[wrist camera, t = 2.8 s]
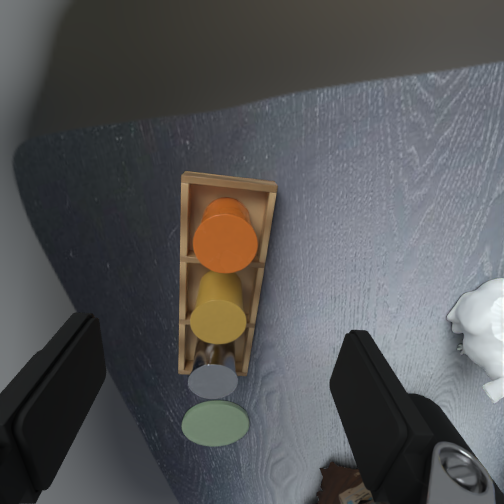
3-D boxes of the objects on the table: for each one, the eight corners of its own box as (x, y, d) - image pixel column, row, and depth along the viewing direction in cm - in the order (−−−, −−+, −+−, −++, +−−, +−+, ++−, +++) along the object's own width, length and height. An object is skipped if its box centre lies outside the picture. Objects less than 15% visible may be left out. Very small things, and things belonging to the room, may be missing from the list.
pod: (199, 241, 25) (191, 271, 20) (201, 191, 23) (194, 211, 18) (249, 245, 26) (253, 275, 21) (255, 197, 24) (261, 217, 19)
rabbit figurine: (467, 354, 35) (546, 432, 26) (412, 352, 34) (474, 432, 25) (516, 272, 30) (635, 336, 21) (453, 268, 29) (549, 332, 20)
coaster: (181, 442, 38) (181, 446, 38) (182, 399, 35) (182, 403, 34) (245, 442, 39) (245, 446, 39) (252, 400, 36) (253, 405, 35)
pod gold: (196, 303, 28) (189, 343, 23) (198, 264, 26) (190, 298, 21) (241, 306, 29) (243, 345, 24) (246, 268, 27) (249, 301, 22)
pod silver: (194, 354, 31) (187, 398, 26) (195, 322, 29) (188, 363, 24) (234, 355, 31) (235, 399, 27) (238, 324, 30) (240, 365, 25)
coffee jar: (348, 415, 38) (434, 630, 22) (417, 378, 36) (569, 589, 20) (383, 446, 42) (477, 647, 26) (447, 414, 40) (594, 615, 24)
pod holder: (245, 363, 33) (246, 376, 31) (181, 360, 32) (178, 374, 30) (274, 181, 24) (277, 185, 22) (184, 171, 23) (181, 174, 21)
